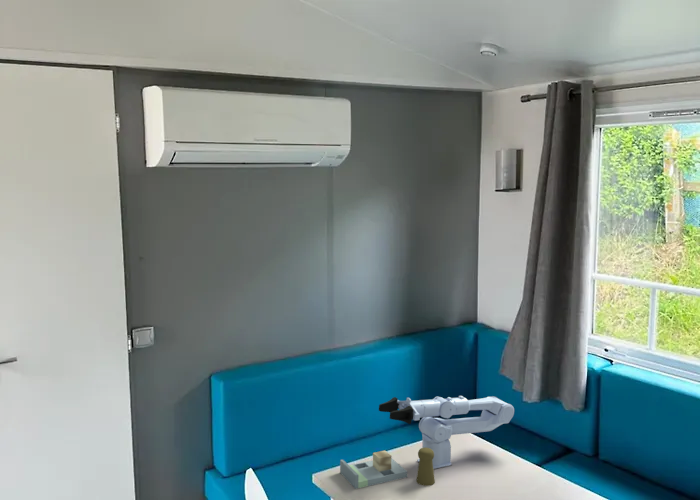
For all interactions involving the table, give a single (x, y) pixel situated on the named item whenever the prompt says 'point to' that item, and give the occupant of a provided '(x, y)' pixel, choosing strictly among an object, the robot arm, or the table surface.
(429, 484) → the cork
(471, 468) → the table surface
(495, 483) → the table surface
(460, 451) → the table surface
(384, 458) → the beech block
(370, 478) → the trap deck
